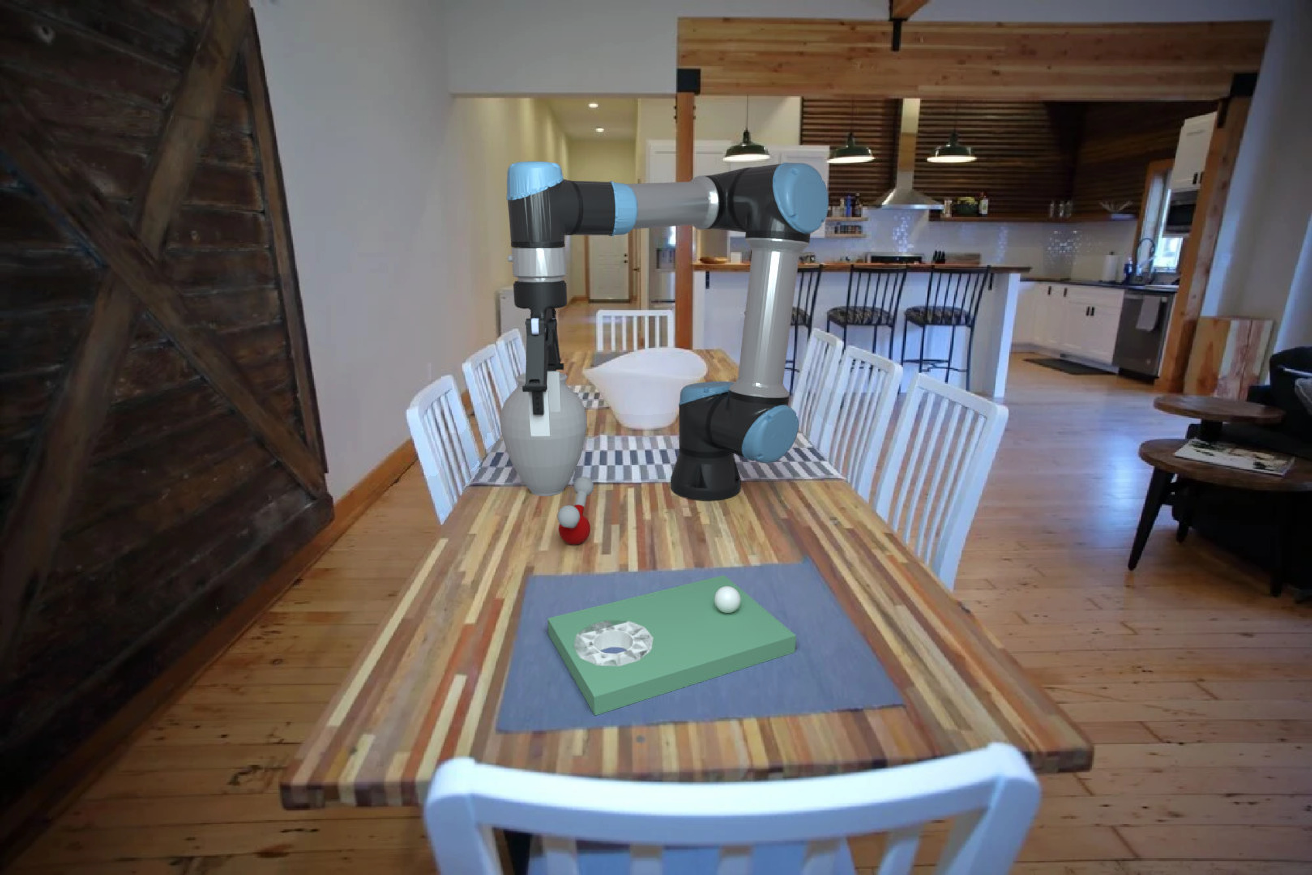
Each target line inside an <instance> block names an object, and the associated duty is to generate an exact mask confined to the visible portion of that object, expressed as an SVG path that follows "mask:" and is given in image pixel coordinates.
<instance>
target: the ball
mask: <svg viewBox="0 0 1312 875" xmlns="http://www.w3.org/2000/svg"><path fill="white" fill-rule="evenodd" d="M714 601H715V605H716V607H717V608H718V609H719V610H720V611H722V612H724V613H731V612H734V611H735V610H737V608H738V607H739V605H740V601H741V599H740V595H739V593H738V591H737V590H736V589H734V588H733V587H730V586H724V587H722V588H720V589H719V590H718V591H717V592H716V594H715V598H714Z"/></svg>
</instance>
